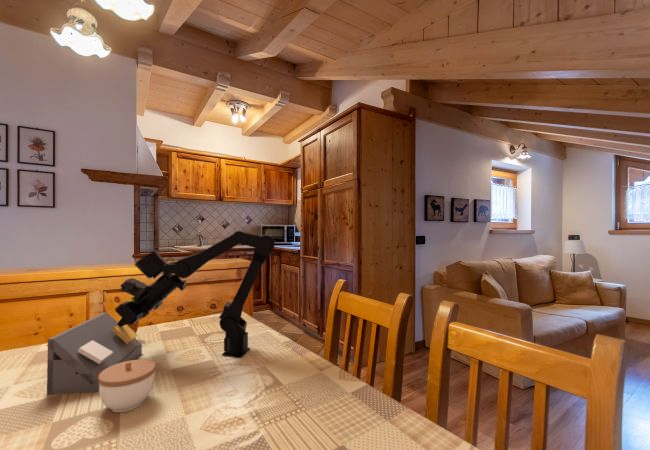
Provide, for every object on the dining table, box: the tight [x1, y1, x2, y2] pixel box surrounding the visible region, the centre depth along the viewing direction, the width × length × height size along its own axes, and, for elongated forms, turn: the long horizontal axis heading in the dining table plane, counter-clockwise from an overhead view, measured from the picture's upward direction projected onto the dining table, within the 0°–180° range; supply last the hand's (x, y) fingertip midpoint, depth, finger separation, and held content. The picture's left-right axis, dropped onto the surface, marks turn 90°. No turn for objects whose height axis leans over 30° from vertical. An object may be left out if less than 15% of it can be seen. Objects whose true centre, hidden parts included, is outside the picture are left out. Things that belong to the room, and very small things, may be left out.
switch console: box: [46, 312, 143, 395], centre depth 82 cm, size 12×22×13 cm, turn 8°
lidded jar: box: [98, 359, 156, 413], centre depth 67 cm, size 11×11×9 cm
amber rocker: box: [112, 325, 139, 344], centre depth 90 cm, size 5×5×5 cm
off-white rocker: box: [77, 340, 113, 364], centre depth 76 cm, size 5×5×5 cm
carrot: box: [122, 296, 140, 334], centre depth 104 cm, size 5×5×15 cm
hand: (118, 325), depth 89 cm, fingers closed, pressing on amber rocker
